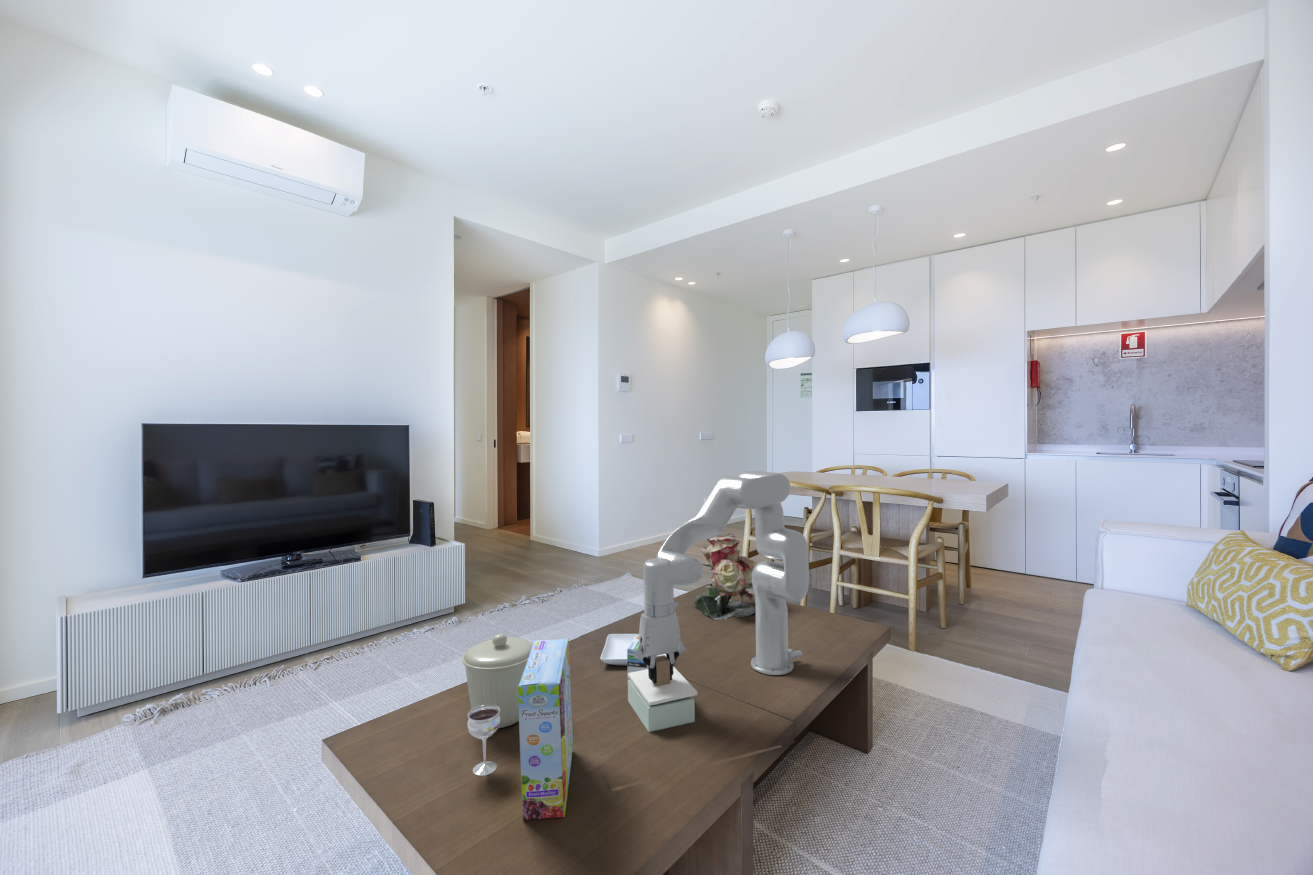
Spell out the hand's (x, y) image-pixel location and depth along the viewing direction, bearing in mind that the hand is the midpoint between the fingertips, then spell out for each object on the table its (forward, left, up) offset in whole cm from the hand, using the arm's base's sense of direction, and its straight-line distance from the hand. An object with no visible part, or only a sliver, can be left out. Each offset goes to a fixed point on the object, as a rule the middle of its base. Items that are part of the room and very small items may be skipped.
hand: (661, 678), depth 137 cm
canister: (+38, -13, -9) cm, 41 cm away
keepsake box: (0, 0, -8) cm, 8 cm away
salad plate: (-6, -36, -9) cm, 37 cm away
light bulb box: (-2, -19, -9) cm, 21 cm away
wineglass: (+43, +7, -9) cm, 45 cm away
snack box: (+31, +17, -9) cm, 37 cm away
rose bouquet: (-54, -64, -9) cm, 85 cm away
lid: (0, 0, -2) cm, 2 cm away
